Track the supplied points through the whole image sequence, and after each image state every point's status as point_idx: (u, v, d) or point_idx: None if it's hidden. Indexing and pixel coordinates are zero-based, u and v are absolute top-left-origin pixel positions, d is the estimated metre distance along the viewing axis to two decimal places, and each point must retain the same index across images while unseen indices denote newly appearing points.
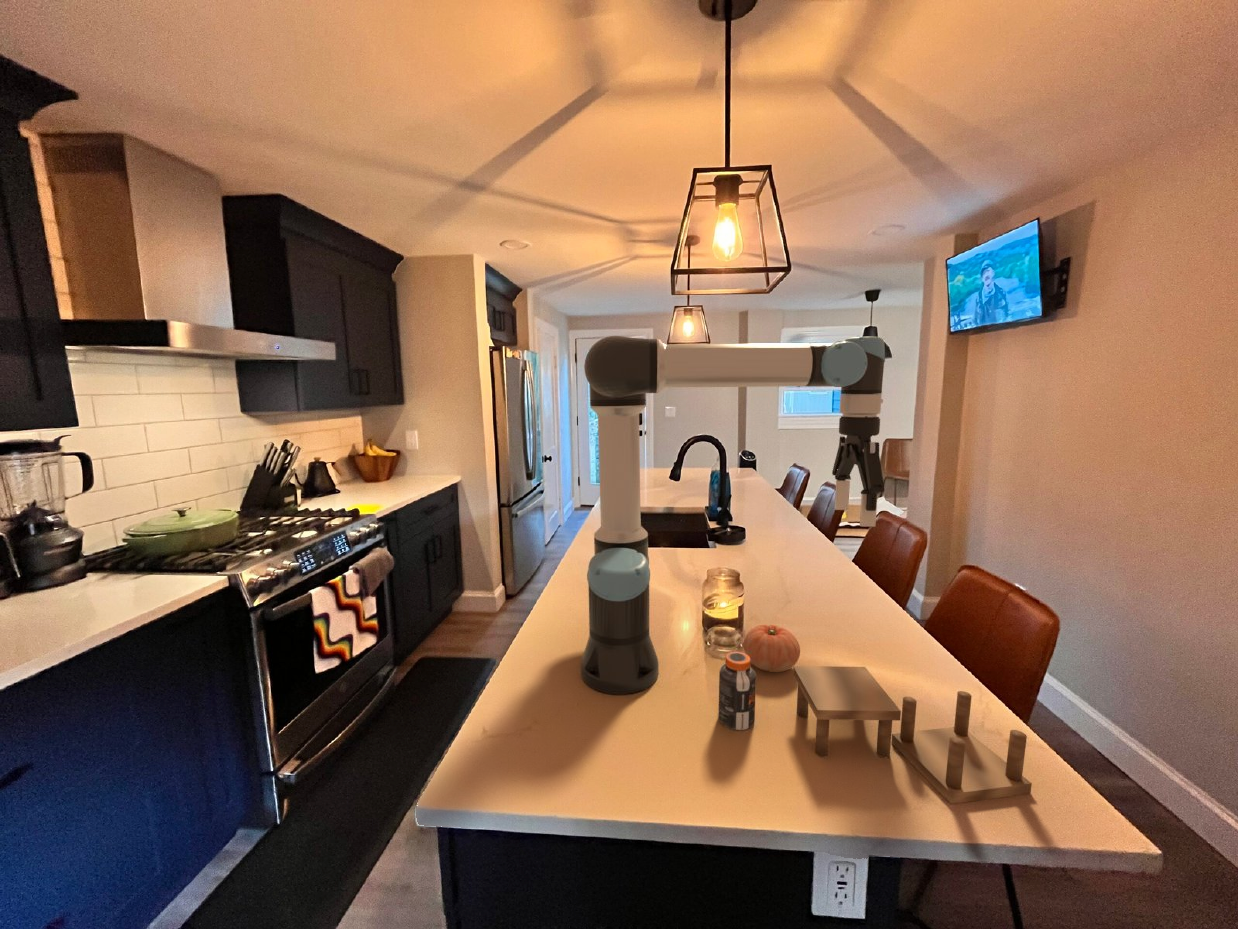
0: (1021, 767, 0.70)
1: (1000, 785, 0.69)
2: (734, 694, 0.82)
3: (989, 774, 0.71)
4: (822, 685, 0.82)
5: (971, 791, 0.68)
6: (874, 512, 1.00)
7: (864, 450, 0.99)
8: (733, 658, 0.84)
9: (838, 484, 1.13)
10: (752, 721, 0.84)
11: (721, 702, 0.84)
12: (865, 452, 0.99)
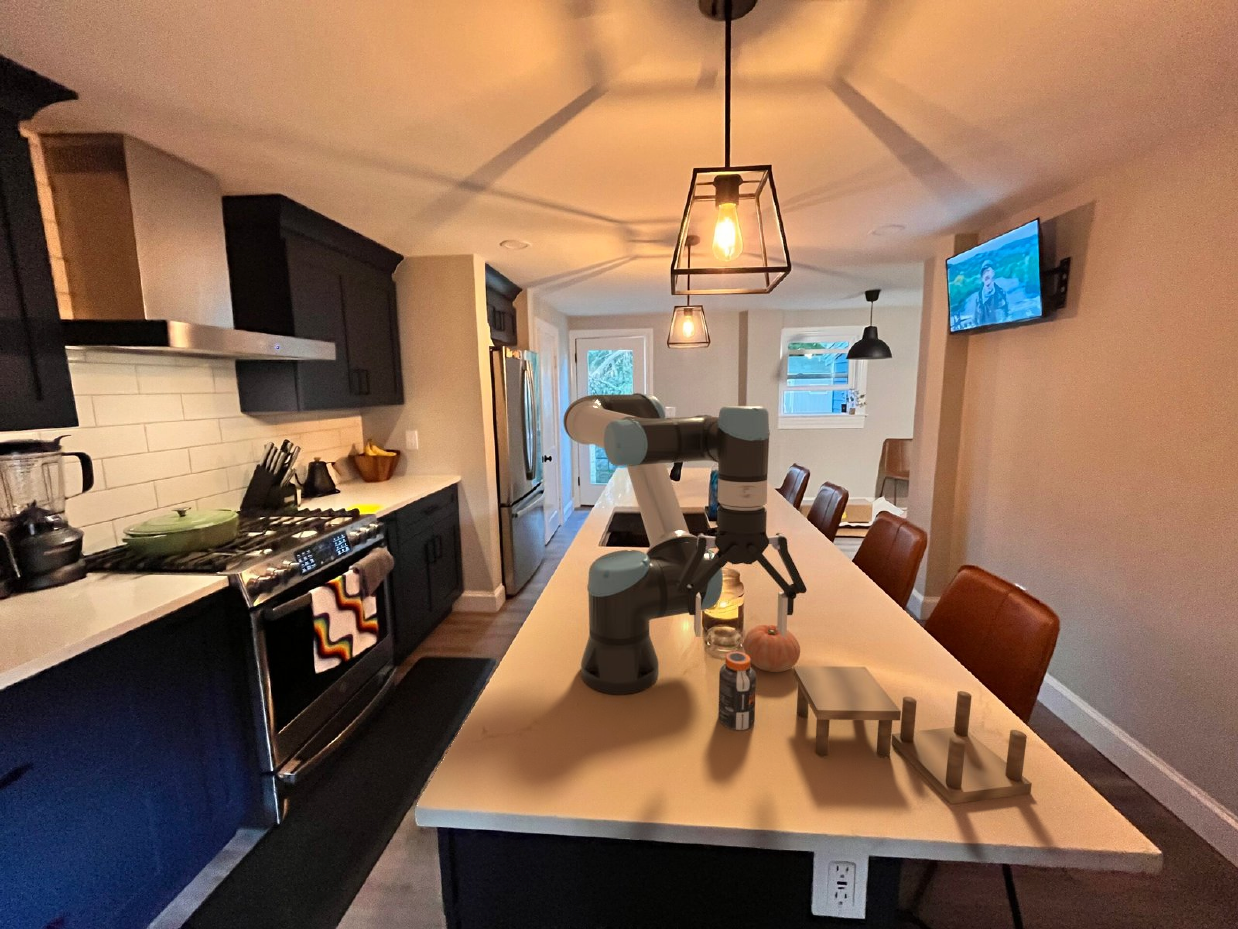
0: (1021, 767, 0.70)
1: (1000, 785, 0.69)
2: (734, 694, 0.82)
3: (989, 774, 0.71)
4: (822, 685, 0.82)
5: (971, 791, 0.68)
6: (695, 619, 0.82)
7: None
8: (733, 658, 0.84)
9: (778, 596, 0.83)
10: (752, 721, 0.84)
11: (721, 702, 0.84)
12: None
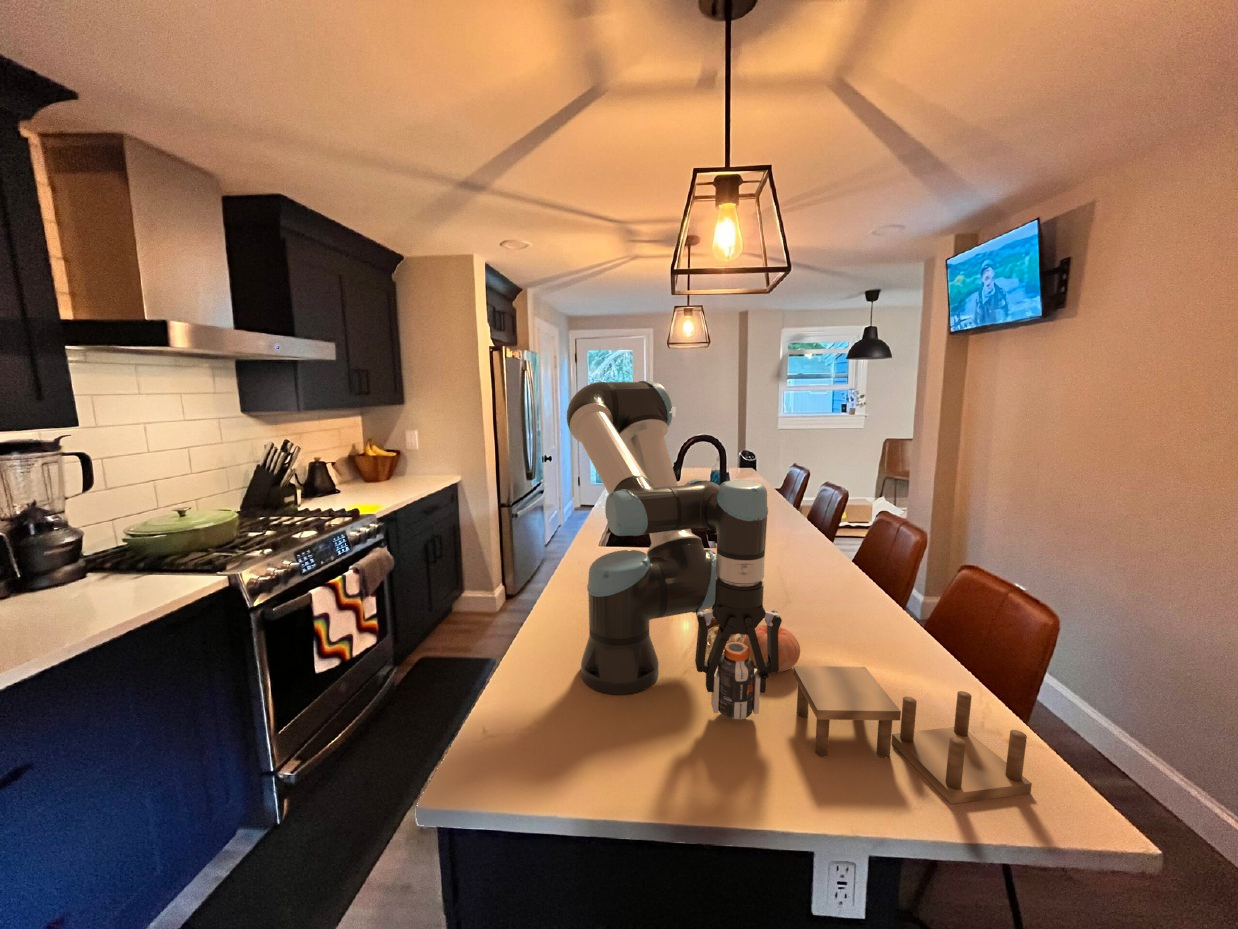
0: (1021, 767, 0.70)
1: (1000, 785, 0.69)
2: (732, 684, 0.83)
3: (989, 774, 0.71)
4: (822, 685, 0.82)
5: (971, 791, 0.68)
6: (713, 696, 0.85)
7: None
8: (732, 648, 0.84)
9: None
10: (750, 711, 0.84)
11: (719, 691, 0.85)
12: None
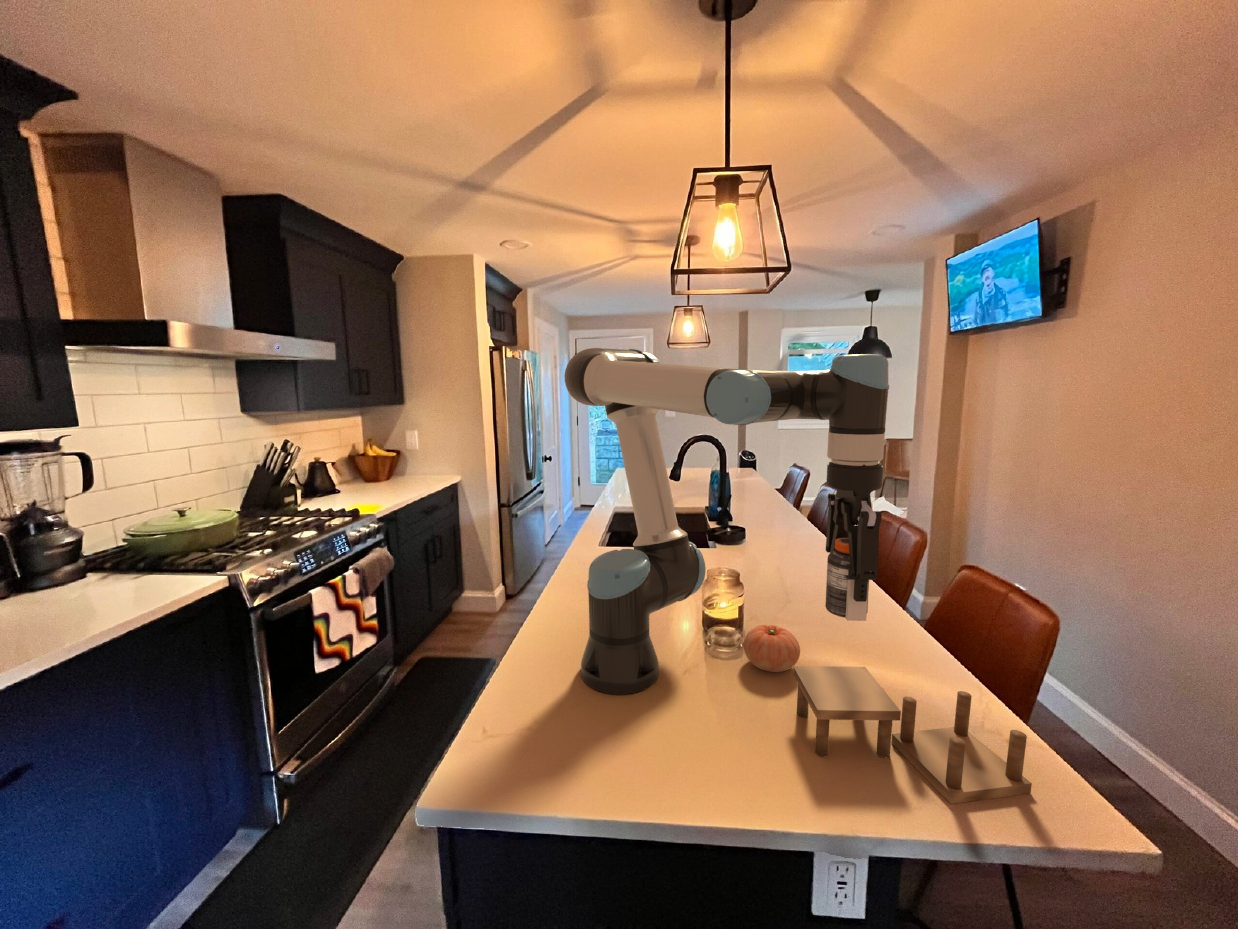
0: (1021, 767, 0.70)
1: (1000, 785, 0.69)
2: None
3: (989, 774, 0.71)
4: (822, 685, 0.82)
5: (971, 791, 0.68)
6: (864, 602, 0.75)
7: (859, 520, 0.71)
8: None
9: None
10: None
11: None
12: (860, 524, 0.71)
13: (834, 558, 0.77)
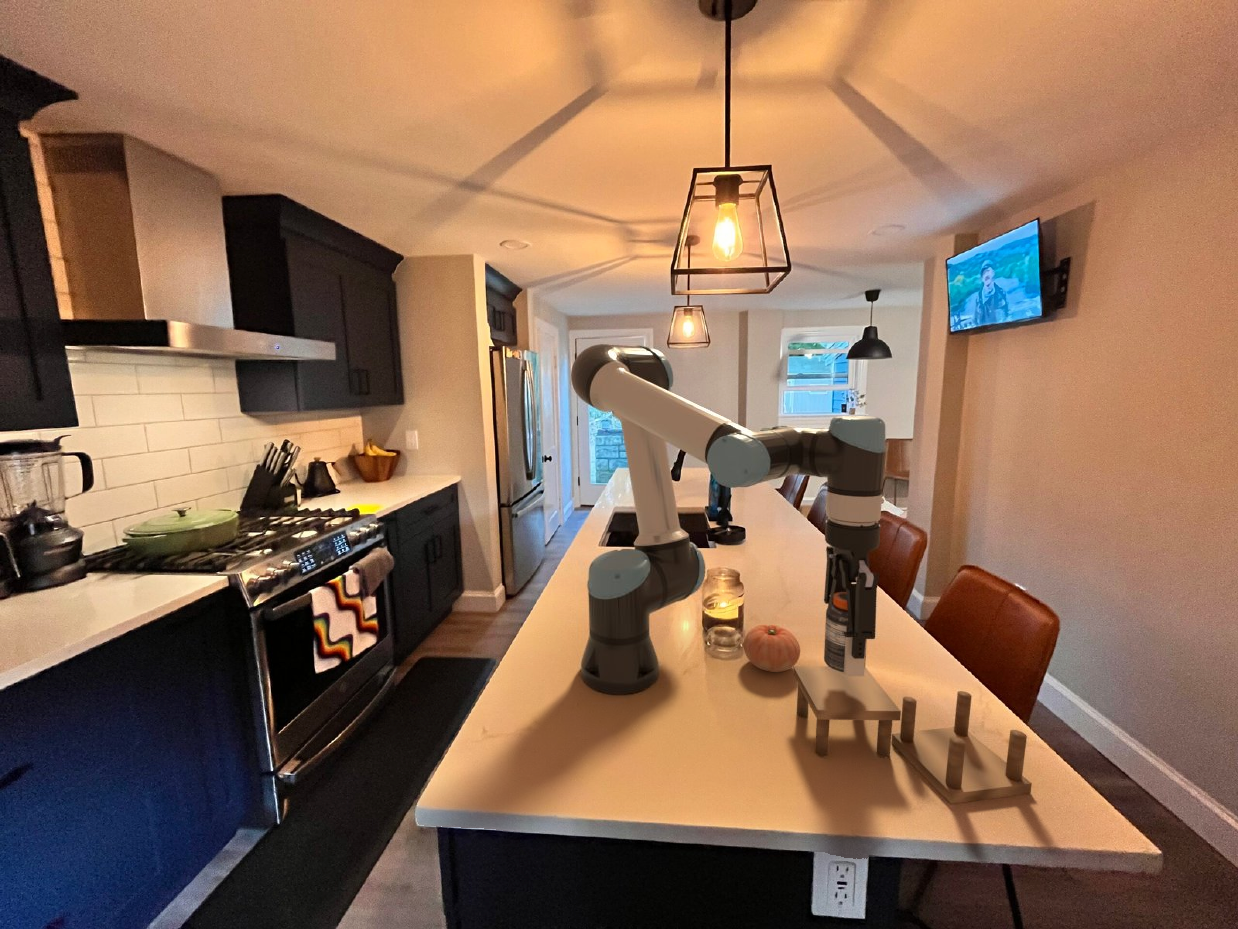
0: (1021, 767, 0.70)
1: (1000, 785, 0.69)
2: None
3: (989, 774, 0.71)
4: (822, 685, 0.82)
5: (971, 791, 0.68)
6: (862, 658, 0.76)
7: (857, 581, 0.73)
8: None
9: None
10: None
11: None
12: (858, 585, 0.72)
13: (833, 614, 0.78)
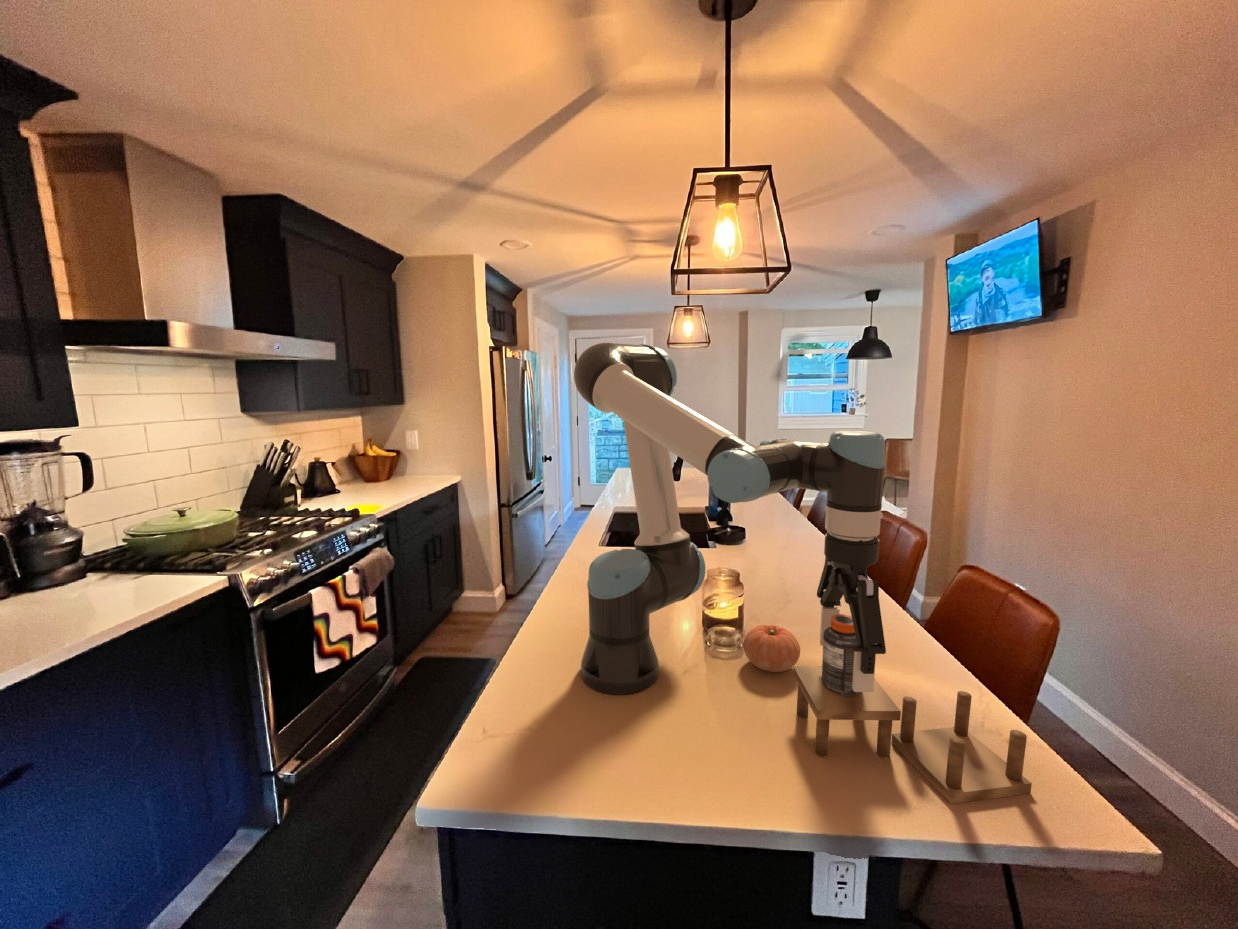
0: (1021, 767, 0.70)
1: (1000, 785, 0.69)
2: None
3: (989, 774, 0.71)
4: (822, 685, 0.82)
5: (971, 791, 0.68)
6: (872, 673, 0.73)
7: (858, 590, 0.72)
8: (850, 621, 0.79)
9: (824, 613, 0.86)
10: None
11: None
12: (859, 594, 0.72)
13: (830, 637, 0.79)
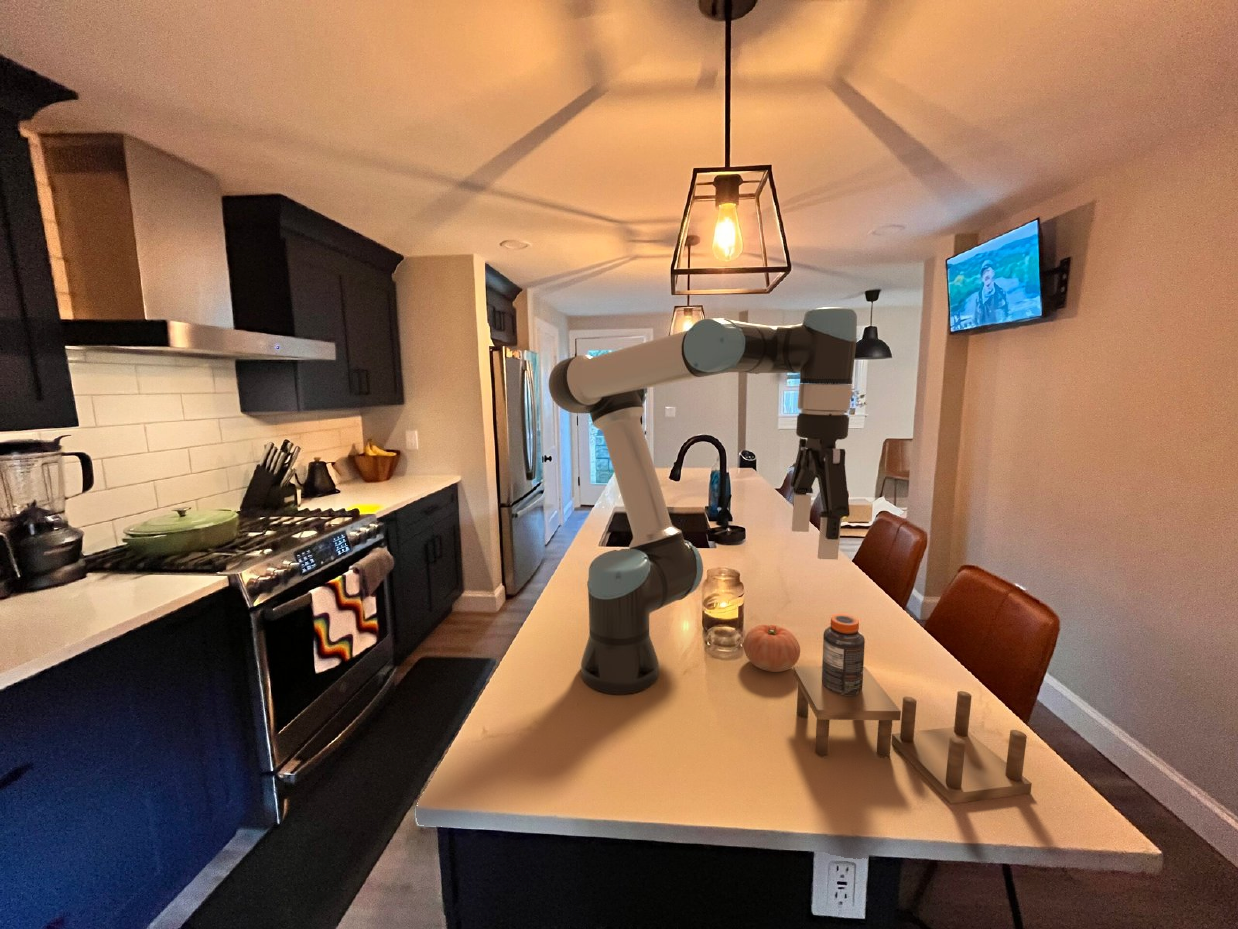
0: (1021, 767, 0.70)
1: (1000, 785, 0.69)
2: None
3: (989, 774, 0.71)
4: (822, 685, 0.82)
5: (971, 791, 0.68)
6: (836, 541, 0.76)
7: (825, 459, 0.75)
8: (850, 621, 0.79)
9: (796, 499, 0.89)
10: None
11: (856, 673, 0.78)
12: (826, 462, 0.74)
13: (830, 637, 0.79)
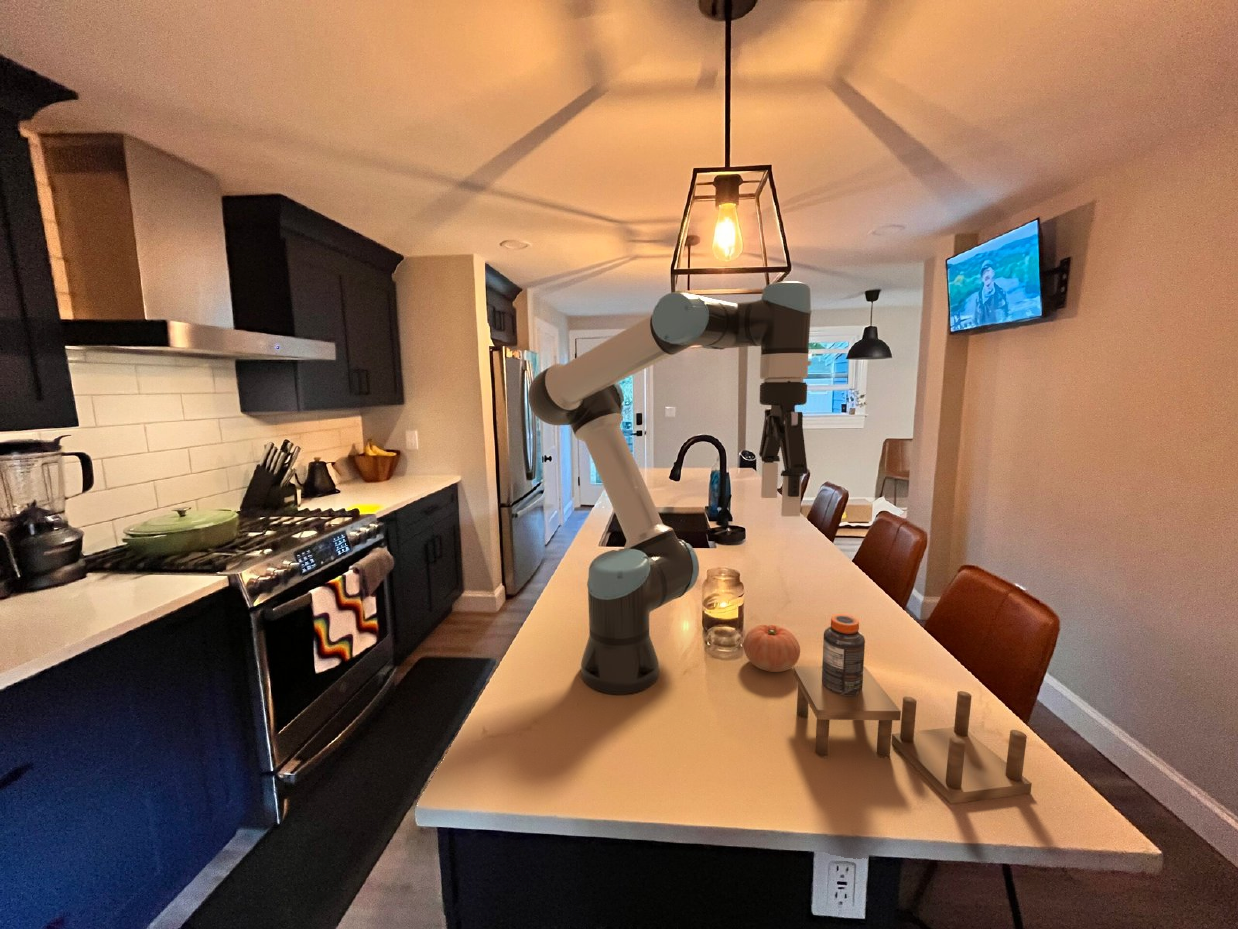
0: (1021, 767, 0.70)
1: (1000, 785, 0.69)
2: None
3: (989, 774, 0.71)
4: (822, 685, 0.82)
5: (971, 791, 0.68)
6: (798, 499, 0.81)
7: (785, 422, 0.80)
8: (850, 621, 0.79)
9: (764, 467, 0.94)
10: None
11: (856, 673, 0.78)
12: (786, 424, 0.80)
13: (830, 637, 0.79)
